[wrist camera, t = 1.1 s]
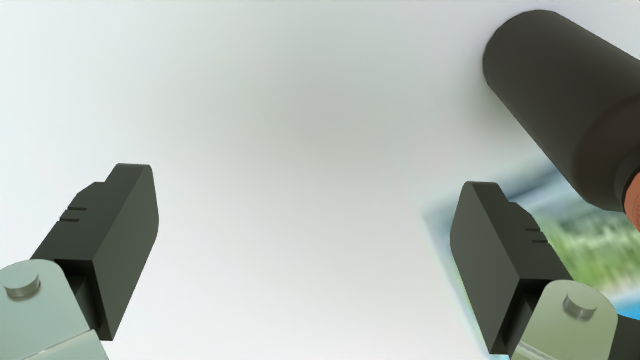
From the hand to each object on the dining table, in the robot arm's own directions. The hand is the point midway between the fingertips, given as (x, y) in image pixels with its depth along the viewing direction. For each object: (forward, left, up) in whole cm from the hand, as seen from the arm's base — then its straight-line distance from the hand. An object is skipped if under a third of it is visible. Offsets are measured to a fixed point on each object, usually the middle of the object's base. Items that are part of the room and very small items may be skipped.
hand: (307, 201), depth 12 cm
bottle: (-14, +8, -25) cm, 30 cm away
